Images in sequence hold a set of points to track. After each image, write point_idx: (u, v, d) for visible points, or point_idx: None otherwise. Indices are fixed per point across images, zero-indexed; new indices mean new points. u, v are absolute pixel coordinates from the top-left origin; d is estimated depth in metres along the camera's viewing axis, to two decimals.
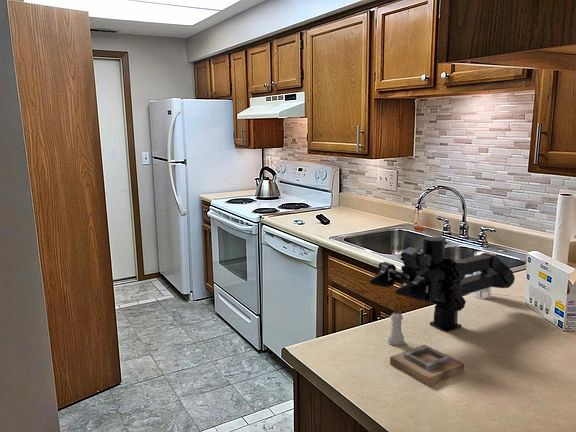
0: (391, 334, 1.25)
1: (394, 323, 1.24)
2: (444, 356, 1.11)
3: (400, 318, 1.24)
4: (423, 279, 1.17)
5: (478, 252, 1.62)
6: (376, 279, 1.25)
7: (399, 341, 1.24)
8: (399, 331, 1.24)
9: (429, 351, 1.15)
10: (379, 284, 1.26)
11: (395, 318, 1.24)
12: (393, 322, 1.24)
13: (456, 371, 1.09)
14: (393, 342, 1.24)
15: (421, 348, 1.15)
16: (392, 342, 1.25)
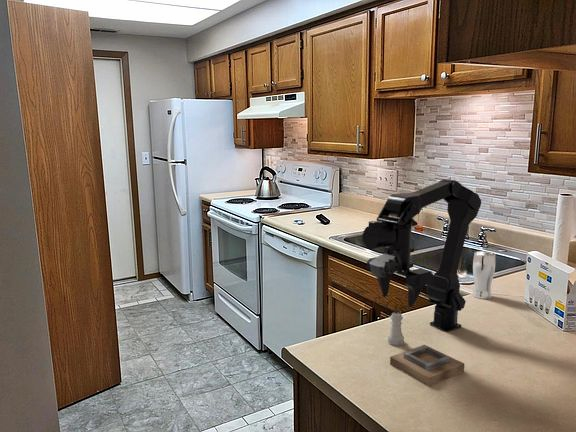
0: (391, 334, 1.25)
1: (394, 323, 1.24)
2: (444, 356, 1.11)
3: (400, 318, 1.24)
4: (412, 287, 1.15)
5: (478, 252, 1.62)
6: (384, 289, 1.27)
7: (399, 341, 1.24)
8: (399, 331, 1.24)
9: (429, 351, 1.15)
10: (388, 284, 1.28)
11: (395, 318, 1.24)
12: (393, 322, 1.24)
13: (456, 371, 1.09)
14: (393, 342, 1.24)
15: (421, 348, 1.15)
16: (392, 342, 1.25)
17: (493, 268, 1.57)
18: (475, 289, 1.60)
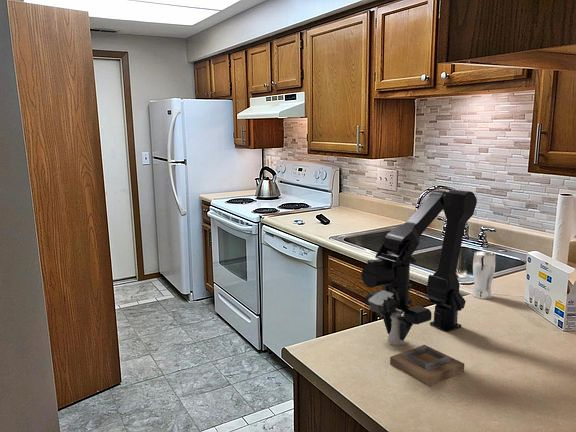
0: (391, 334, 1.25)
1: (394, 323, 1.24)
2: (444, 356, 1.11)
3: None
4: (404, 322, 1.19)
5: (478, 252, 1.62)
6: (389, 327, 1.27)
7: (399, 341, 1.24)
8: (399, 331, 1.24)
9: (429, 351, 1.15)
10: None
11: (395, 318, 1.24)
12: (393, 322, 1.24)
13: (456, 371, 1.09)
14: (393, 342, 1.24)
15: (421, 348, 1.15)
16: (392, 342, 1.25)
17: (493, 268, 1.57)
18: (475, 289, 1.60)
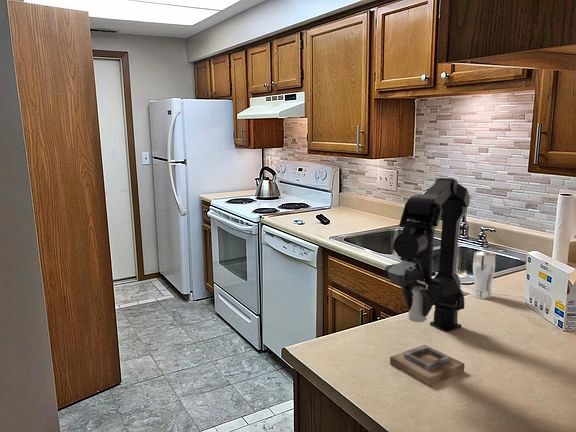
0: (412, 310, 1.13)
1: (416, 297, 1.12)
2: (444, 356, 1.11)
3: None
4: (427, 294, 1.07)
5: (478, 252, 1.62)
6: (410, 302, 1.15)
7: (421, 317, 1.12)
8: (421, 306, 1.13)
9: (429, 351, 1.15)
10: None
11: (417, 292, 1.12)
12: (414, 296, 1.13)
13: (456, 371, 1.09)
14: (414, 318, 1.13)
15: (421, 348, 1.15)
16: (413, 318, 1.13)
17: (493, 268, 1.57)
18: (475, 289, 1.60)
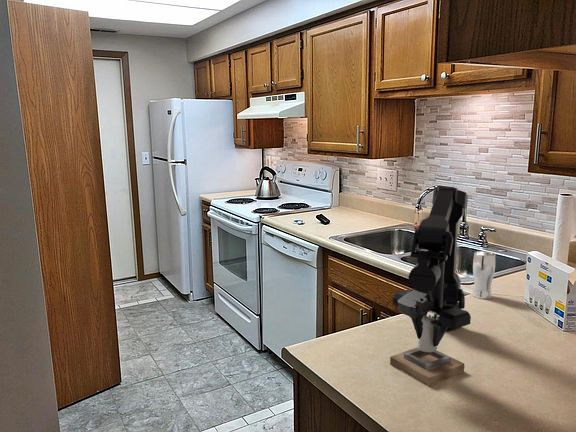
0: (422, 339, 1.10)
1: (426, 327, 1.10)
2: (444, 356, 1.11)
3: None
4: (439, 326, 1.05)
5: (478, 252, 1.62)
6: (419, 331, 1.13)
7: (432, 347, 1.10)
8: (431, 336, 1.10)
9: None
10: None
11: (427, 321, 1.09)
12: (425, 326, 1.10)
13: (456, 371, 1.09)
14: (425, 349, 1.10)
15: None
16: (423, 348, 1.10)
17: (493, 268, 1.57)
18: (475, 289, 1.60)
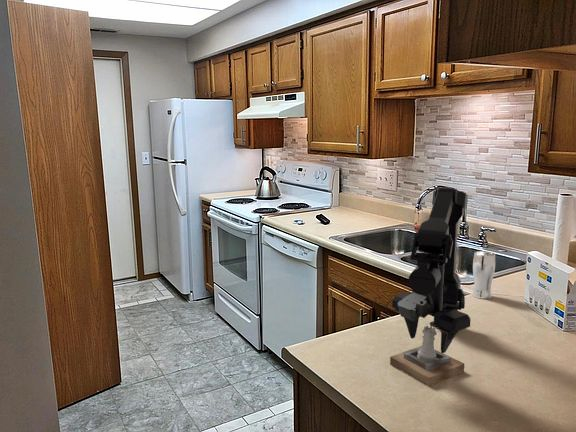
0: (422, 350, 1.11)
1: (426, 338, 1.10)
2: (444, 356, 1.11)
3: (434, 333, 1.09)
4: (447, 332, 1.03)
5: (478, 252, 1.62)
6: (412, 330, 1.15)
7: (431, 359, 1.10)
8: (431, 347, 1.10)
9: None
10: (416, 324, 1.15)
11: (428, 333, 1.09)
12: (425, 337, 1.10)
13: (456, 371, 1.09)
14: (424, 359, 1.10)
15: None
16: (423, 359, 1.10)
17: (493, 268, 1.57)
18: (475, 289, 1.60)
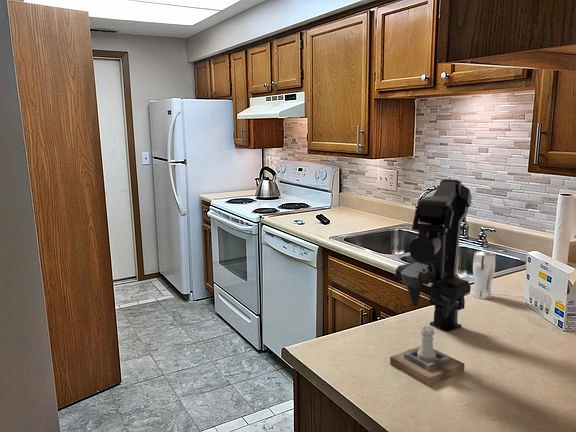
0: (421, 350, 1.11)
1: (425, 338, 1.10)
2: (444, 356, 1.11)
3: (432, 333, 1.10)
4: (448, 298, 1.08)
5: (478, 252, 1.62)
6: (415, 299, 1.20)
7: (430, 359, 1.10)
8: (430, 347, 1.10)
9: None
10: (419, 292, 1.21)
11: (426, 333, 1.10)
12: (424, 337, 1.10)
13: (456, 371, 1.09)
14: (424, 360, 1.10)
15: None
16: None
17: (493, 268, 1.57)
18: (475, 289, 1.60)
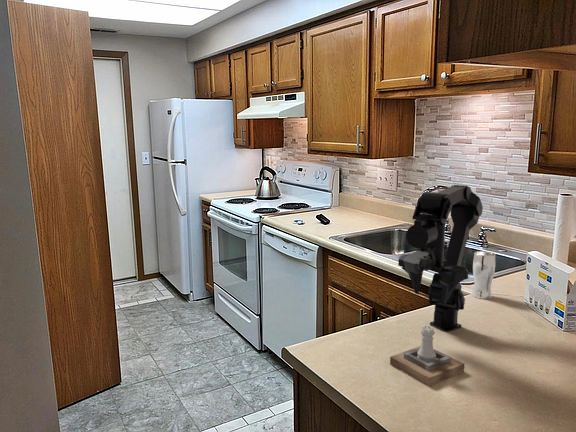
0: (421, 350, 1.11)
1: (425, 338, 1.10)
2: (444, 356, 1.11)
3: (432, 333, 1.10)
4: (447, 283, 1.16)
5: (478, 252, 1.62)
6: (416, 286, 1.28)
7: (430, 359, 1.10)
8: (430, 347, 1.10)
9: None
10: (420, 280, 1.29)
11: (426, 333, 1.10)
12: (424, 337, 1.10)
13: (456, 371, 1.09)
14: (424, 360, 1.10)
15: None
16: None
17: (493, 268, 1.57)
18: (475, 289, 1.60)
